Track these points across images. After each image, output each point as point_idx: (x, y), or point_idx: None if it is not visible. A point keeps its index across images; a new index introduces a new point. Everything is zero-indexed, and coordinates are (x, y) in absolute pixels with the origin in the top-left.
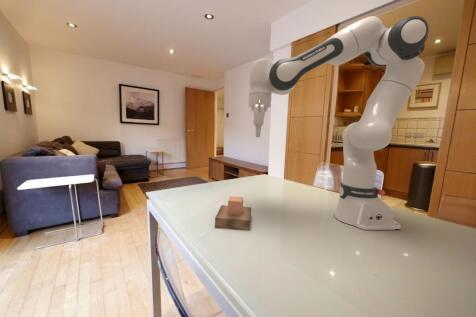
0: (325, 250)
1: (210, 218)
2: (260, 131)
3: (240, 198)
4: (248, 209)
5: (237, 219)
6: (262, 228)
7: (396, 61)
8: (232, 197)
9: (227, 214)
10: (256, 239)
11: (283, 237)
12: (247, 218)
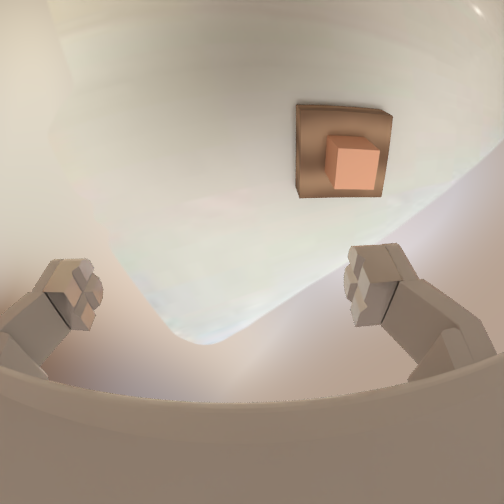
0: None
1: (326, 204)
2: (438, 290)
3: (351, 156)
4: (320, 118)
5: (388, 146)
6: (366, 77)
7: None
8: (344, 181)
9: None
10: (413, 98)
11: (400, 38)
12: (381, 121)
